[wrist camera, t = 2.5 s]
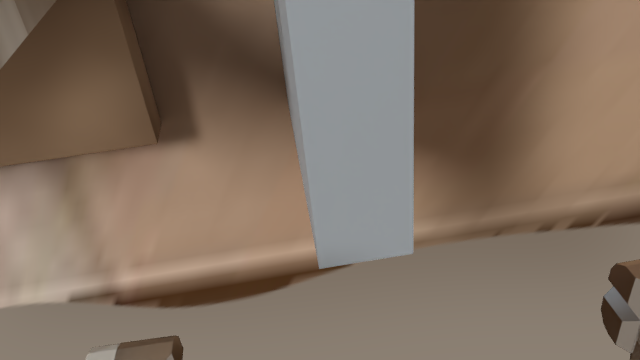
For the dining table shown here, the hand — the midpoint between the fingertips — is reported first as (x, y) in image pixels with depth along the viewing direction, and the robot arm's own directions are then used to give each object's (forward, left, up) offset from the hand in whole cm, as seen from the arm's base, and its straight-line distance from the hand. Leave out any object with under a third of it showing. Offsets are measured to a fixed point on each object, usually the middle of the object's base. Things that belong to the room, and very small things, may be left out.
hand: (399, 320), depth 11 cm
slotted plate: (-4, 0, -12) cm, 13 cm away
